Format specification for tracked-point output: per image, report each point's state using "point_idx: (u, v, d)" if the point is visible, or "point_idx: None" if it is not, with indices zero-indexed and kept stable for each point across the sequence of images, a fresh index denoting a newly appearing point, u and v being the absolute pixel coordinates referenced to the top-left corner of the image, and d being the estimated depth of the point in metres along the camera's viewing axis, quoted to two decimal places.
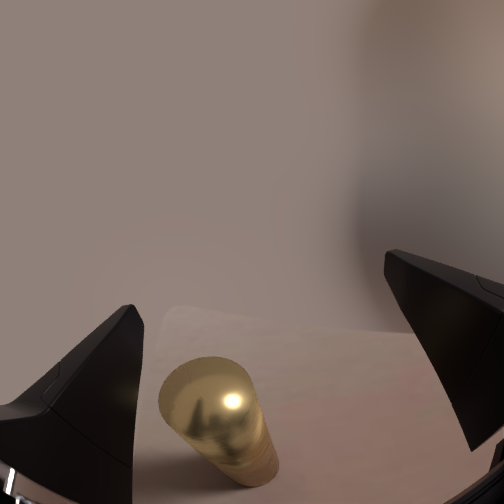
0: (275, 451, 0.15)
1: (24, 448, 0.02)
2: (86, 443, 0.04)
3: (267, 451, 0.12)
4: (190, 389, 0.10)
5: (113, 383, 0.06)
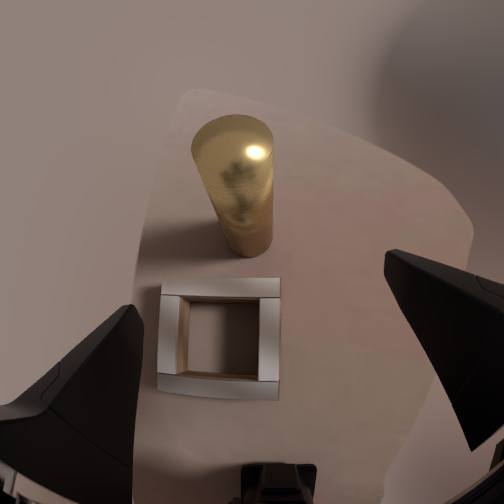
0: None
1: (24, 448, 0.02)
2: (86, 443, 0.04)
3: (269, 212, 0.17)
4: (220, 138, 0.12)
5: (113, 383, 0.06)
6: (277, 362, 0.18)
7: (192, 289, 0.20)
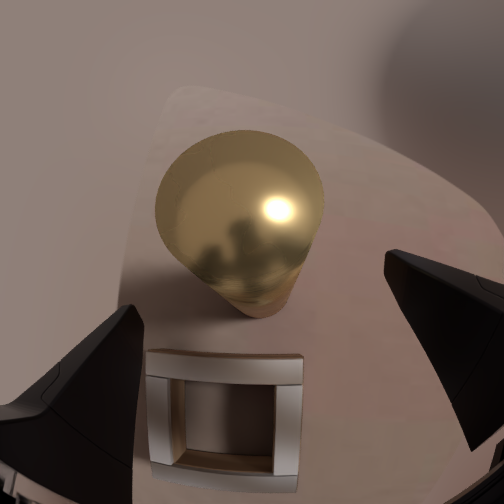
0: None
1: (24, 448, 0.02)
2: (86, 443, 0.04)
3: None
4: (212, 184, 0.06)
5: (113, 383, 0.06)
6: (297, 457, 0.12)
7: (185, 372, 0.14)
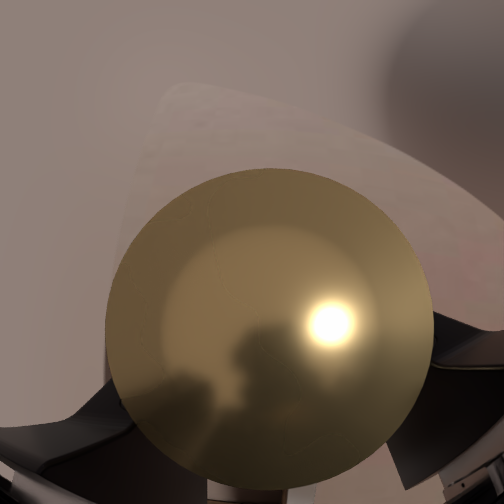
0: None
1: (115, 475, 0.02)
2: None
3: None
4: (216, 306, 0.03)
5: None
6: None
7: None
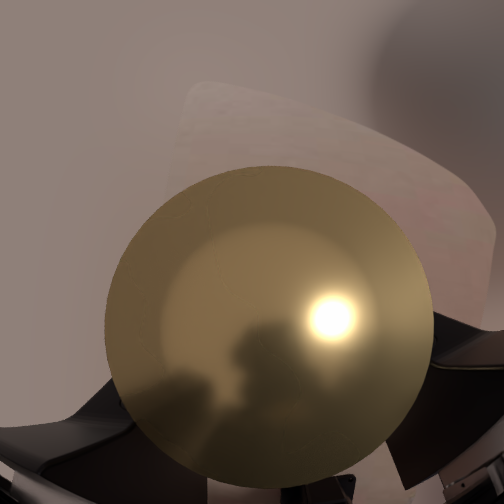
0: None
1: (115, 476, 0.02)
2: None
3: None
4: (215, 302, 0.03)
5: None
6: None
7: None
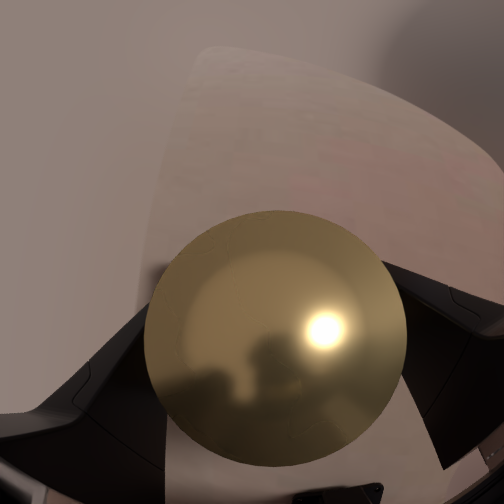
0: None
1: (58, 461, 0.02)
2: (122, 449, 0.04)
3: None
4: (236, 324, 0.04)
5: (146, 382, 0.06)
6: None
7: None
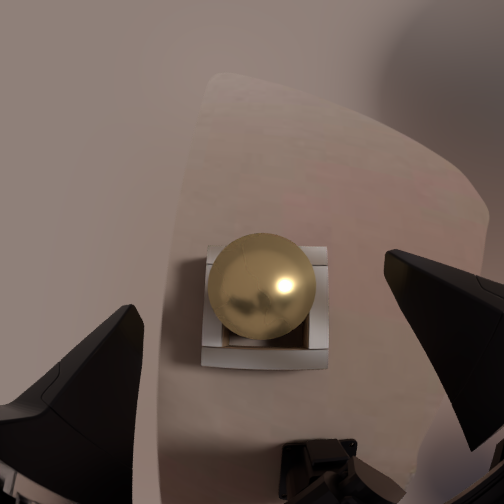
0: None
1: (24, 448, 0.02)
2: (86, 444, 0.04)
3: None
4: (246, 277, 0.10)
5: (113, 383, 0.06)
6: (327, 329, 0.18)
7: None
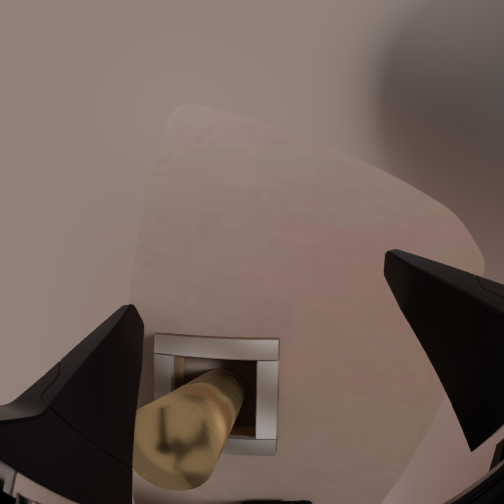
0: (241, 398, 0.17)
1: (24, 448, 0.02)
2: (86, 444, 0.04)
3: None
4: (149, 443, 0.08)
5: (113, 383, 0.06)
6: (275, 422, 0.16)
7: (186, 350, 0.18)
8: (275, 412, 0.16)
